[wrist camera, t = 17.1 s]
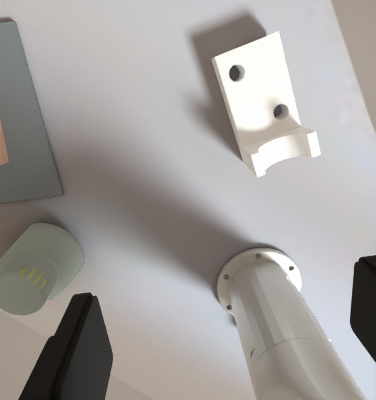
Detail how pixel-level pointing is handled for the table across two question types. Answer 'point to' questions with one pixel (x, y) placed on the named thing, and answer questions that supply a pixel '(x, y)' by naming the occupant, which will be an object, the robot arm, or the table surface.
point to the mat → (22, 128)
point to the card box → (3, 148)
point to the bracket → (263, 105)
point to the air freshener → (38, 268)
